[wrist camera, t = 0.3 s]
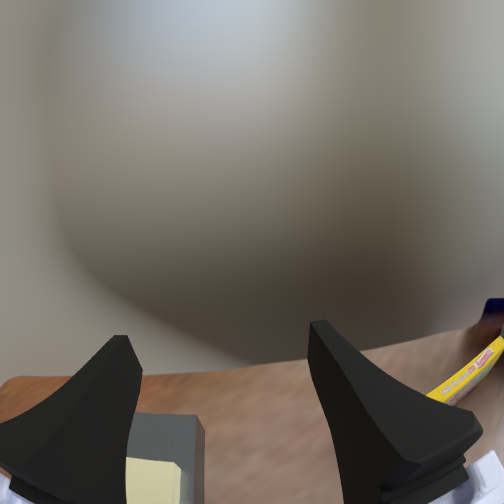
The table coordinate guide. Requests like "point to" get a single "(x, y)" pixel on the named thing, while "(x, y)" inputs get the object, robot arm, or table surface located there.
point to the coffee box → (502, 332)
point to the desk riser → (172, 448)
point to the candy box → (468, 375)
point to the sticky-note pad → (152, 482)
